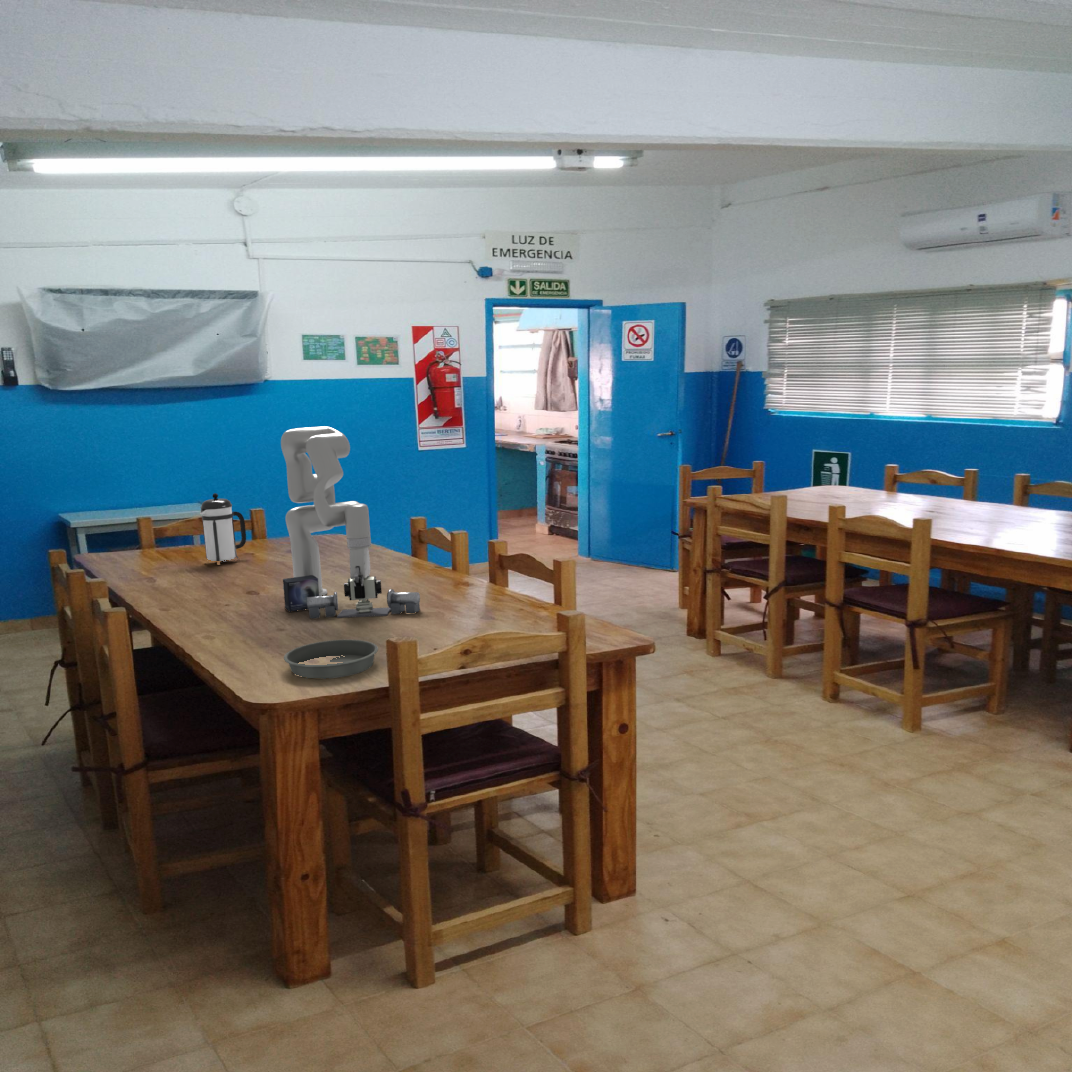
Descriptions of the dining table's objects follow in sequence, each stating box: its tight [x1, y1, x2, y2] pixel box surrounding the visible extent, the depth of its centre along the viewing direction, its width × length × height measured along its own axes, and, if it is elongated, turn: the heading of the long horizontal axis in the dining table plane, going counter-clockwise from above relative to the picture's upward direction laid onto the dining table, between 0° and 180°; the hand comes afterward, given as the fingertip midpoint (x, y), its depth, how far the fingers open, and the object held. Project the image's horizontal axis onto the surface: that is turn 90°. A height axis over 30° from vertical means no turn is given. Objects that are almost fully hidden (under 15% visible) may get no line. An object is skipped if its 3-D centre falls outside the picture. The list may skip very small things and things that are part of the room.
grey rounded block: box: [386, 588, 421, 615], centre depth 331 cm, size 9×6×8 cm, turn 78°
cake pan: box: [283, 639, 379, 680], centre depth 273 cm, size 25×25×4 cm
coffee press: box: [199, 492, 247, 562], centre depth 439 cm, size 17×16×30 cm
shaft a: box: [307, 591, 339, 619], centre depth 332 cm, size 9×6×8 cm, turn 98°
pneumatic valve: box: [343, 575, 382, 613], centre depth 332 cm, size 6×12×12 cm, turn 100°
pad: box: [336, 606, 391, 619], centre depth 333 cm, size 16×9×1 cm, turn 88°
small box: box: [282, 575, 319, 613], centre depth 344 cm, size 11×6×10 cm, turn 118°
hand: (363, 595), depth 332 cm, fingers open, 9 cm apart
